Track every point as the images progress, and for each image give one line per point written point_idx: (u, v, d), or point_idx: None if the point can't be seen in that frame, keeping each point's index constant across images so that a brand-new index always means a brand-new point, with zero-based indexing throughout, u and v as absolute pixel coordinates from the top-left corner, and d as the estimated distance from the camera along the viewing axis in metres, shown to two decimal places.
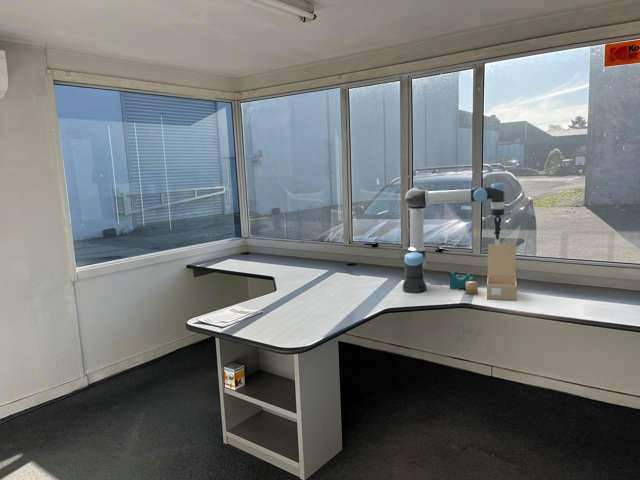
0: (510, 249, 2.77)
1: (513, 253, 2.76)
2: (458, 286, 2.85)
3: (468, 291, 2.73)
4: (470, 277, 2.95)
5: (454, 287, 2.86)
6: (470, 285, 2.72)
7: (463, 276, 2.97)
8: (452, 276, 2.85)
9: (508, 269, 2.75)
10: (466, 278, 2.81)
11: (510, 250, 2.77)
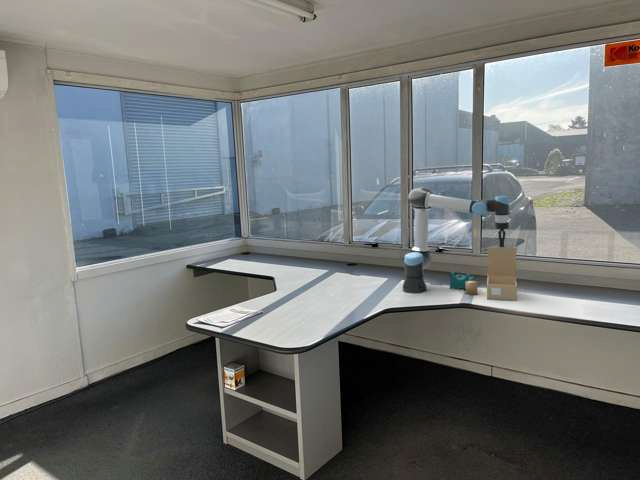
0: (511, 252, 2.67)
1: (514, 256, 2.67)
2: (458, 287, 2.85)
3: (469, 291, 2.73)
4: (470, 277, 2.95)
5: (454, 287, 2.86)
6: (471, 285, 2.72)
7: (463, 276, 2.97)
8: (452, 276, 2.85)
9: (508, 270, 2.73)
10: (466, 278, 2.81)
11: (511, 254, 2.67)
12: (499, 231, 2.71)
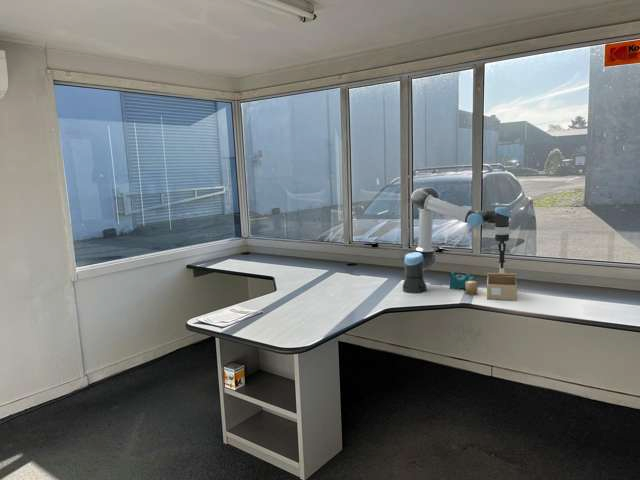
0: None
1: None
2: (458, 287, 2.85)
3: (470, 291, 2.72)
4: (470, 277, 2.95)
5: (454, 287, 2.86)
6: (472, 285, 2.71)
7: (463, 276, 2.97)
8: (452, 276, 2.85)
9: None
10: (466, 278, 2.81)
11: None
12: (499, 243, 2.64)
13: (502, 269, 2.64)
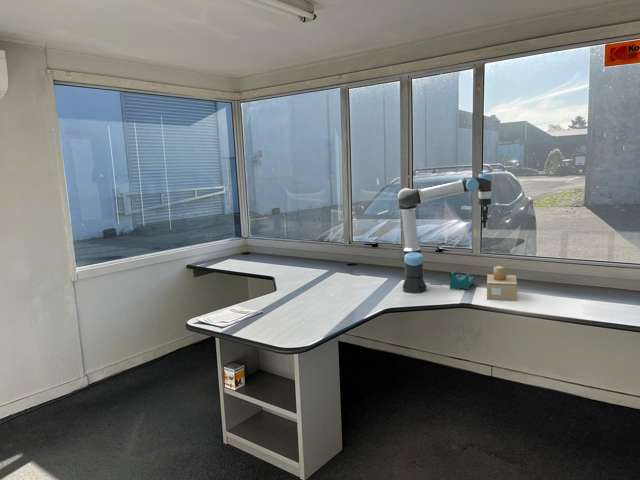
0: None
1: None
2: (458, 287, 2.85)
3: (502, 277, 2.63)
4: (470, 277, 2.95)
5: (454, 287, 2.86)
6: (504, 270, 2.63)
7: (463, 276, 2.97)
8: (452, 276, 2.85)
9: None
10: (466, 278, 2.81)
11: None
12: None
13: (485, 229, 2.82)
